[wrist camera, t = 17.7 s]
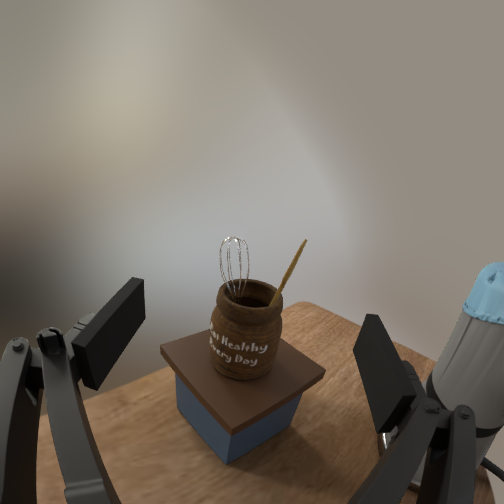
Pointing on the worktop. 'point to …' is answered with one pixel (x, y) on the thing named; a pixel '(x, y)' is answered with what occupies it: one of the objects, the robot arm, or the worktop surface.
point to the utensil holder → (247, 325)
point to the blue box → (237, 395)
